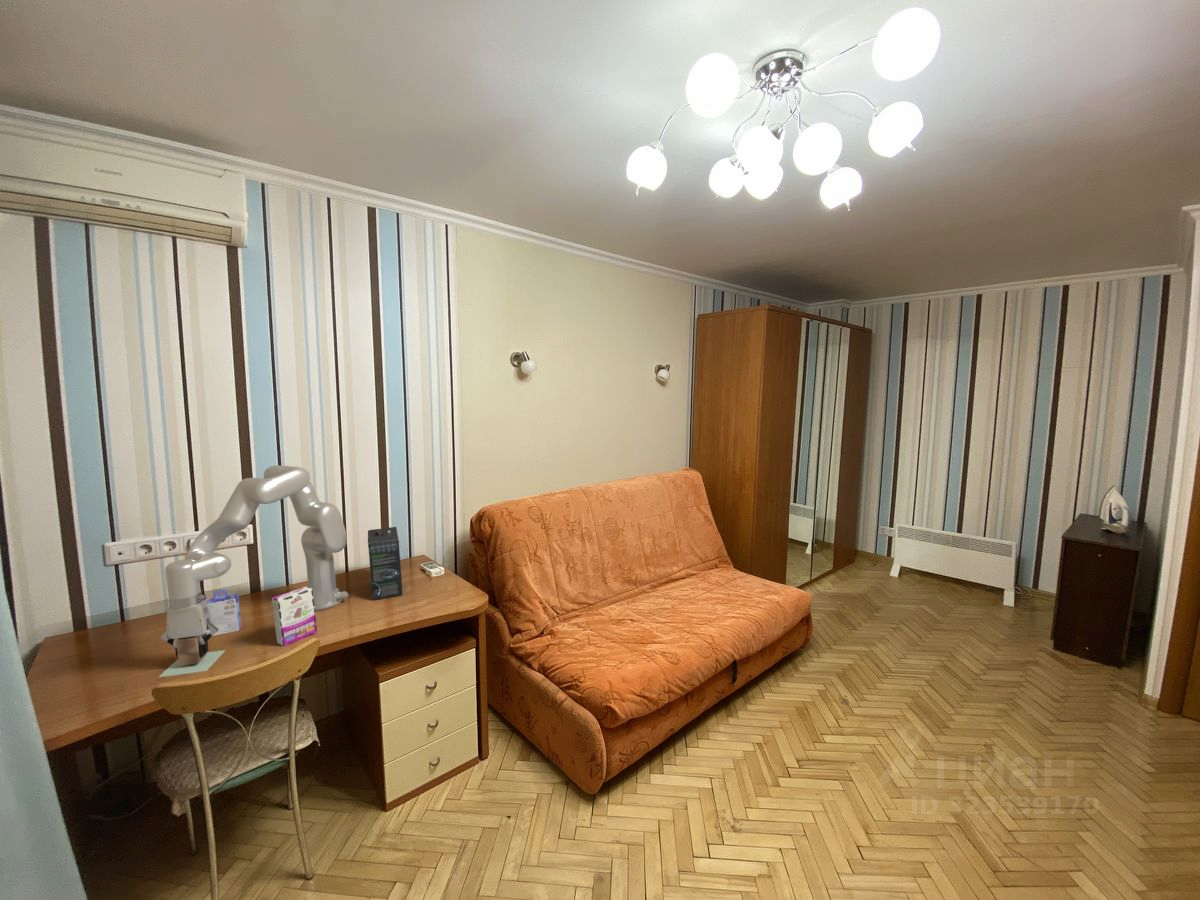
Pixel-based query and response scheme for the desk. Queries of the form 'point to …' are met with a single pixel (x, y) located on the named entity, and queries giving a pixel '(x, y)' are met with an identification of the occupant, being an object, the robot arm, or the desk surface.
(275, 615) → the candy bar box
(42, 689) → the desk surface
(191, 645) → the walnut block
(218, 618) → the ink cartridge box
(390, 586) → the headset box
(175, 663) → the green mat
